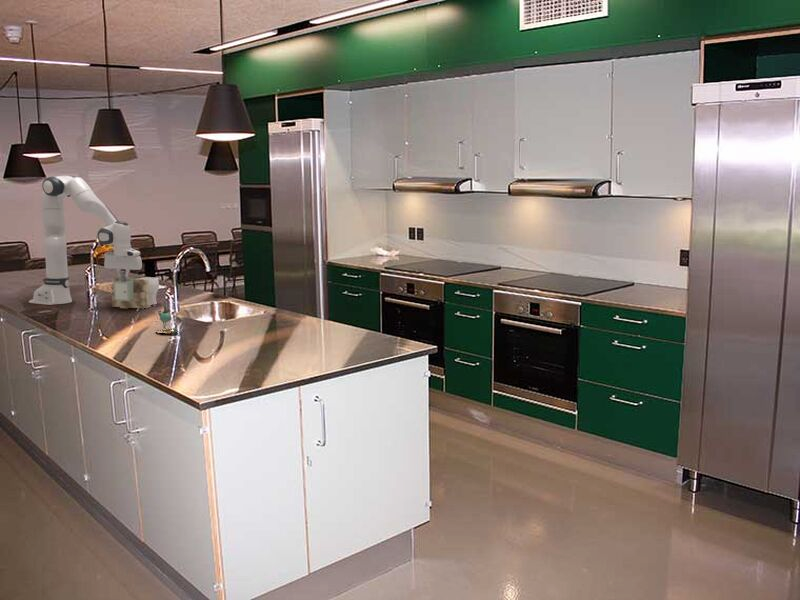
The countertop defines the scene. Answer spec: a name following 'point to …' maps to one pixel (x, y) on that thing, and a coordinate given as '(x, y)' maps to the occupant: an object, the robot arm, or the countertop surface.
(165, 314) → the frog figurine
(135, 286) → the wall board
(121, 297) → the white square bottle
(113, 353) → the countertop surface
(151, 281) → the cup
